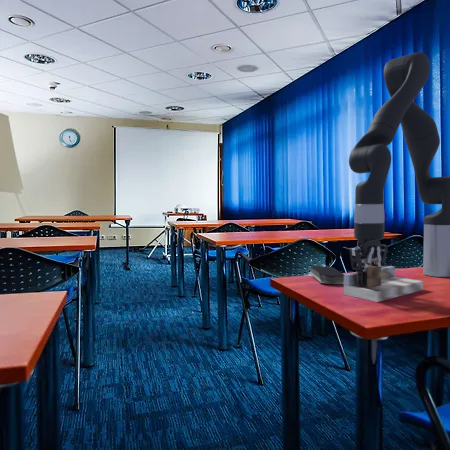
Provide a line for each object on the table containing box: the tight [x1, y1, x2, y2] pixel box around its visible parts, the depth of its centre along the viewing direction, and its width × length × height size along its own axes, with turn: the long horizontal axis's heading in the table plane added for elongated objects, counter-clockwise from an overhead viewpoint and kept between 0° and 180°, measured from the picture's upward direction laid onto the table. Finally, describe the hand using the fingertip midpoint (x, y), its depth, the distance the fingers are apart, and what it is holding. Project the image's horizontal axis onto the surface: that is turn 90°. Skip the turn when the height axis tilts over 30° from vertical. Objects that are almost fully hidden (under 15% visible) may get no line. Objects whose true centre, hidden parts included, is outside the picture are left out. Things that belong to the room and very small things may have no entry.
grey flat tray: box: [343, 265, 424, 303], centre depth 101 cm, size 22×10×6 cm, turn 125°
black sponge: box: [309, 265, 345, 286], centre depth 119 cm, size 16×8×4 cm, turn 179°
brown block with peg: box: [356, 264, 389, 288], centre depth 97 cm, size 5×8×5 cm, turn 35°
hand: (368, 283), depth 99 cm, fingers closed on brown block with peg, 5 cm apart
